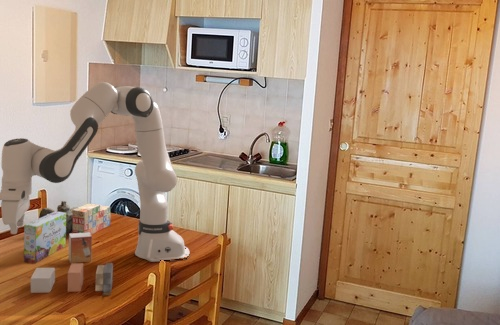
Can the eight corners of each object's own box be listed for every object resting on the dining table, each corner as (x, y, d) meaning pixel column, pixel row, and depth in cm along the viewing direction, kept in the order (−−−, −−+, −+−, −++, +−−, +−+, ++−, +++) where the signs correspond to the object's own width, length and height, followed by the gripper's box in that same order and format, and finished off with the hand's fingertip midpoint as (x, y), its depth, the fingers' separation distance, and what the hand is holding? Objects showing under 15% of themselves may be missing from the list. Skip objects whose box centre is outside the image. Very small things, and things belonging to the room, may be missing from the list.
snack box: (36, 264, 197) (36, 226, 194) (23, 262, 198) (22, 224, 195) (66, 246, 217) (66, 211, 214) (54, 244, 218) (54, 210, 215)
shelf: (112, 282, 185) (113, 262, 183) (110, 295, 175) (110, 273, 174) (35, 283, 180) (35, 262, 178) (28, 296, 170) (28, 274, 169)
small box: (70, 263, 199) (70, 237, 197) (68, 258, 204) (68, 233, 202) (91, 261, 203) (92, 236, 201) (89, 256, 208) (89, 231, 206)
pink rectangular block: (83, 282, 182) (83, 263, 181) (80, 292, 174) (80, 272, 173) (71, 282, 181) (71, 263, 180) (67, 292, 173) (67, 272, 172)
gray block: (54, 281, 180) (54, 267, 180) (49, 292, 172) (49, 278, 171) (36, 281, 179) (36, 267, 178) (30, 292, 171) (30, 278, 170)
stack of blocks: (99, 223, 250) (99, 198, 248) (110, 225, 249) (111, 200, 246) (72, 236, 230) (72, 209, 228) (84, 238, 228) (84, 211, 226)
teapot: (76, 225, 245) (76, 194, 242) (90, 231, 238) (90, 199, 235) (33, 234, 228) (32, 201, 226) (46, 241, 221) (46, 207, 218)
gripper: (14, 181, 177) (15, 220, 180) (-3, 196, 157) (-2, 239, 160) (34, 181, 178) (34, 220, 181) (19, 196, 159) (19, 239, 161)
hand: (17, 229), depth 170 cm, fingers open, 6 cm apart
